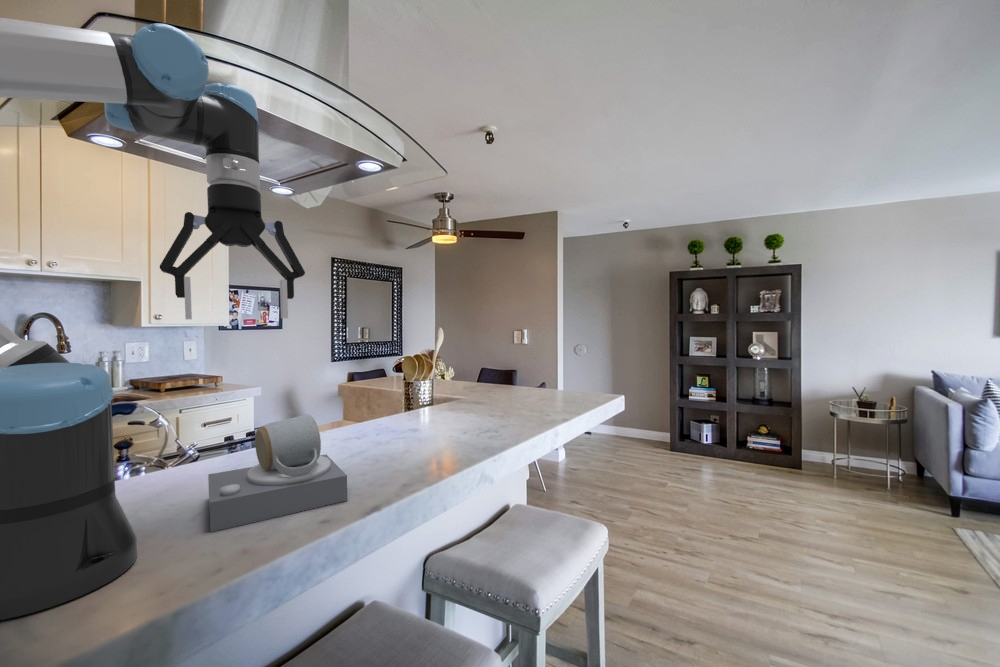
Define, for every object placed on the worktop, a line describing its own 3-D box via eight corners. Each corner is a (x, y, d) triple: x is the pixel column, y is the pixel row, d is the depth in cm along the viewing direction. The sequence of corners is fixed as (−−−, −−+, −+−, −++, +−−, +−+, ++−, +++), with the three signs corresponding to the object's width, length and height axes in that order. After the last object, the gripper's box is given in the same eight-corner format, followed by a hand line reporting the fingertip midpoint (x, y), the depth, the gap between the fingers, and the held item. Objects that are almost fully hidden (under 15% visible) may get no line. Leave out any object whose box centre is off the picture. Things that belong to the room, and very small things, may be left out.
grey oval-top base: (210, 532, 61) (209, 495, 60) (209, 498, 73) (208, 467, 72) (347, 500, 71) (346, 469, 70) (326, 475, 82) (325, 448, 82)
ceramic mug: (253, 466, 72) (251, 418, 72) (305, 455, 78) (304, 410, 78) (274, 484, 65) (273, 430, 64) (331, 470, 70) (330, 421, 70)
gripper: (133, 168, 64) (139, 319, 64) (320, 193, 77) (323, 317, 78) (139, 182, 70) (145, 320, 71) (311, 203, 84) (314, 318, 84)
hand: (239, 319), depth 74 cm, fingers open, 13 cm apart
